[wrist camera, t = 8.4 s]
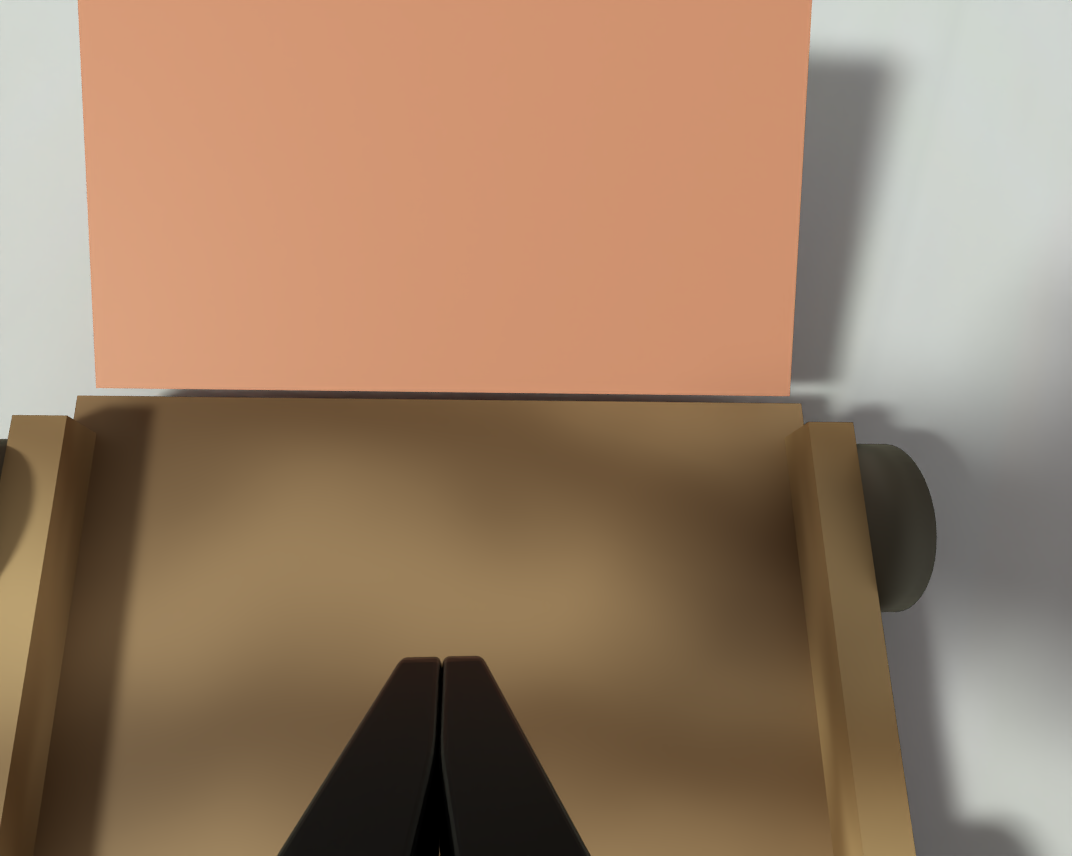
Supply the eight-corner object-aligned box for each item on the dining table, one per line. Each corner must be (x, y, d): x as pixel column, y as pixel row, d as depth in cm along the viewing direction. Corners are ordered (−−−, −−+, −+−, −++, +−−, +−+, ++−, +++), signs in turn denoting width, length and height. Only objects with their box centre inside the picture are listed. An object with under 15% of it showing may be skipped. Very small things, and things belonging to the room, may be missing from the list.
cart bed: (927, 1143, 18) (1067, 1291, 14) (-96, 1234, 16) (-295, 1441, 12) (829, 424, 23) (910, 374, 19) (43, 417, 21) (-60, 359, 17)
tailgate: (789, 396, 20) (814, -54, 18) (96, 387, 18) (72, -107, 17) (758, 390, 22) (779, -14, 21) (134, 382, 20) (115, -58, 19)
